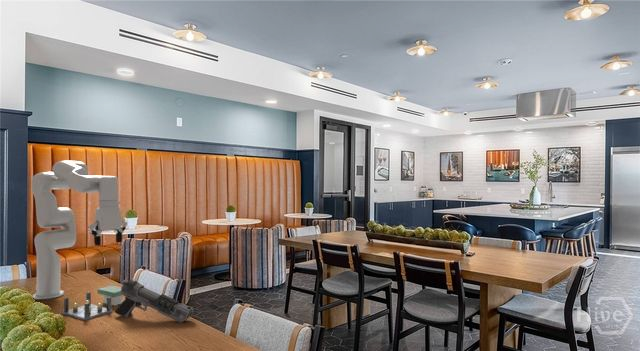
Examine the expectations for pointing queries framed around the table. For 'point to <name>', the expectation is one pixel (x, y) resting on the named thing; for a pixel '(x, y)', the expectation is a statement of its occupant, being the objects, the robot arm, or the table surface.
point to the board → (110, 291)
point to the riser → (113, 300)
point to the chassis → (87, 309)
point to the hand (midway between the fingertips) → (108, 243)
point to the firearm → (150, 302)
